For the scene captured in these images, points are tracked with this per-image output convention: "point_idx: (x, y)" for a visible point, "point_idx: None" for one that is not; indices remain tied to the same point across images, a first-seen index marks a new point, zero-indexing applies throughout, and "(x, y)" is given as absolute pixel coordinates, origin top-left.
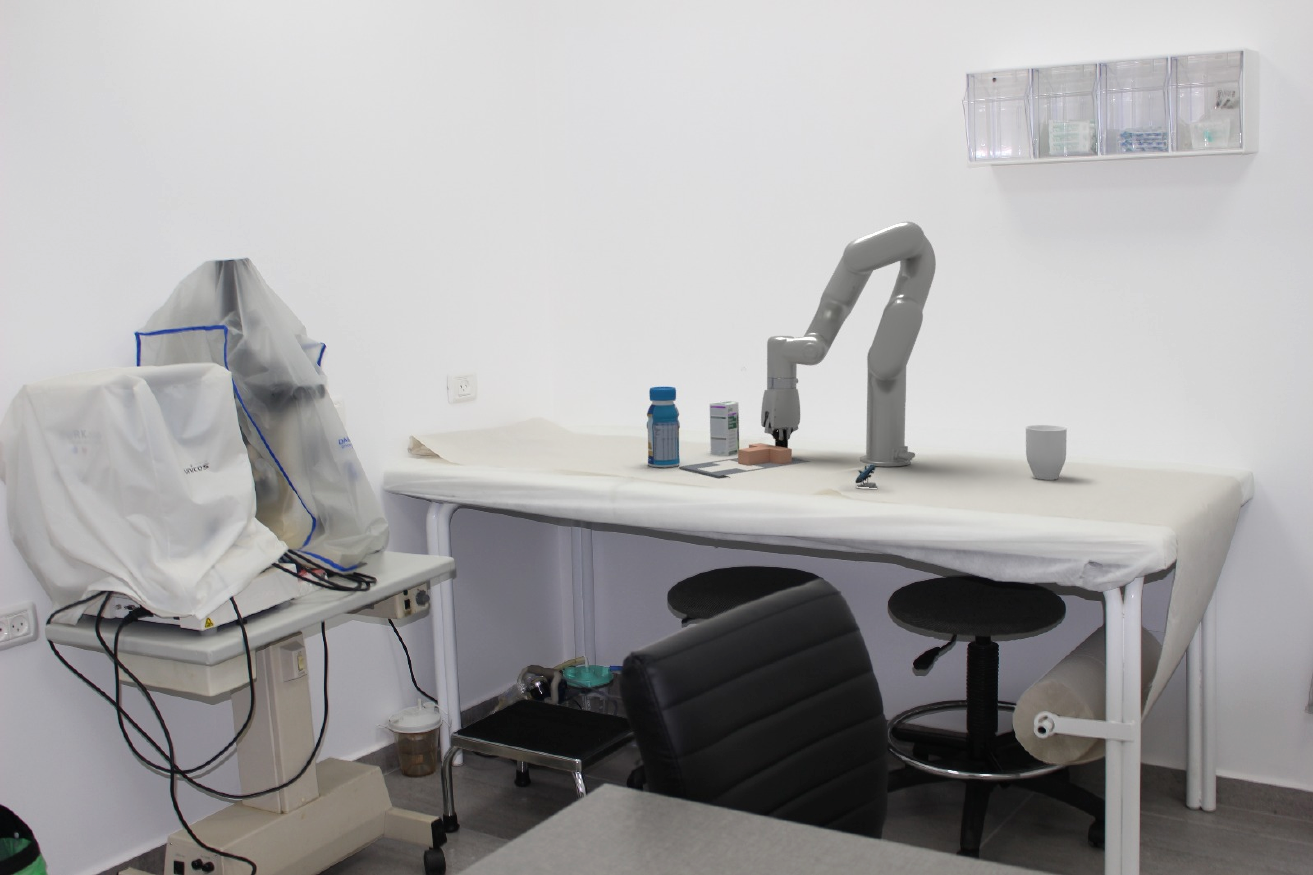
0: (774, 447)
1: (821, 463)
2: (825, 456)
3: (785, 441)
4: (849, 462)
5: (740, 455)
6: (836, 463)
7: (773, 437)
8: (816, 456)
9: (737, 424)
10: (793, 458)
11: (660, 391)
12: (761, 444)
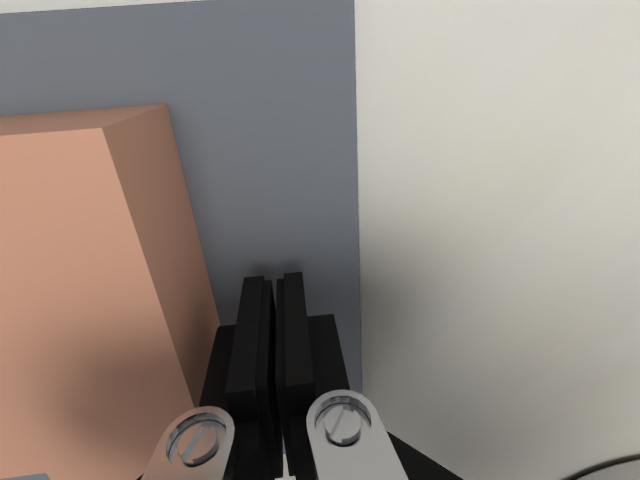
0: (128, 450)
1: (412, 441)
2: (623, 304)
3: (290, 467)
4: (528, 467)
5: None
6: (466, 464)
7: (164, 446)
8: (591, 276)
9: None
10: (349, 339)
11: None
12: (61, 245)
